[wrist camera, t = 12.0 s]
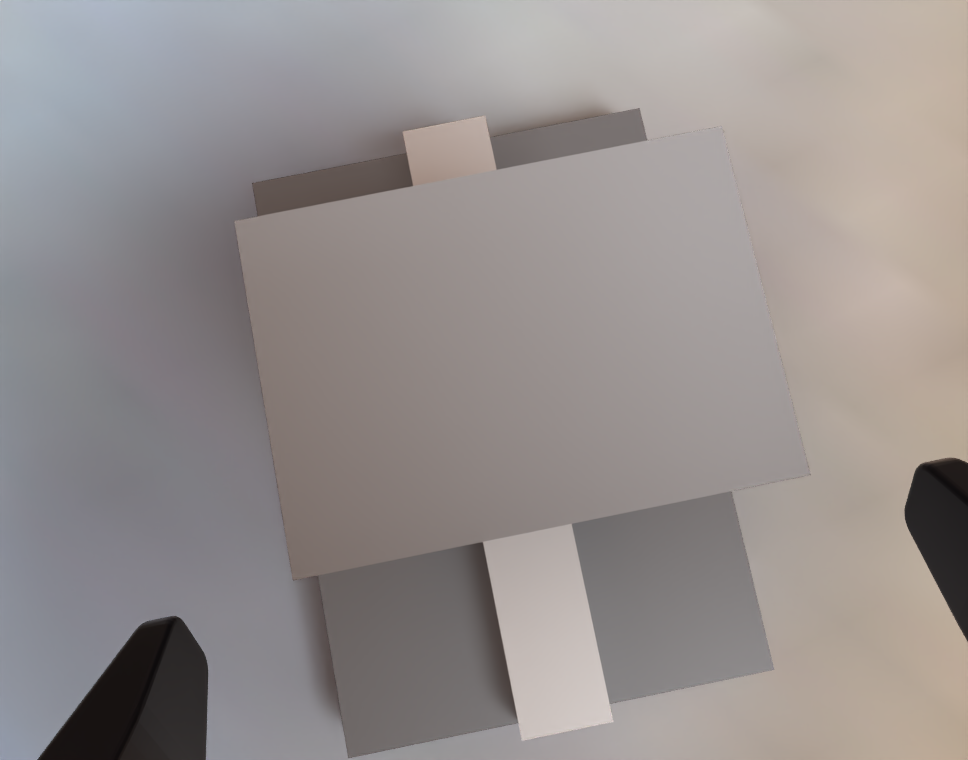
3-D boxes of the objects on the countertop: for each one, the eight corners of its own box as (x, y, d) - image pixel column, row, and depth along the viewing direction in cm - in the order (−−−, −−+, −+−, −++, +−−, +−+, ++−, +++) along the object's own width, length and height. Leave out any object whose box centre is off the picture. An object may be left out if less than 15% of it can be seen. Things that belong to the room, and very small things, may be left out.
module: (632, 475, 18) (810, 475, 8) (402, 522, 18) (292, 580, 8) (592, 297, 18) (712, 89, 9) (369, 341, 18) (228, 183, 8)
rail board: (751, 654, 19) (794, 683, 16) (359, 735, 19) (337, 778, 16) (628, 134, 21) (649, 83, 18) (269, 204, 20) (236, 163, 18)
